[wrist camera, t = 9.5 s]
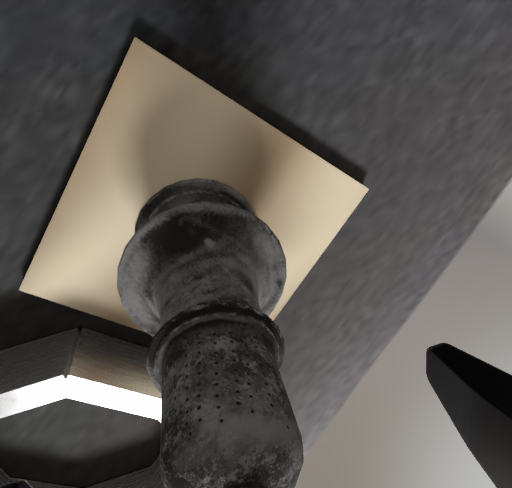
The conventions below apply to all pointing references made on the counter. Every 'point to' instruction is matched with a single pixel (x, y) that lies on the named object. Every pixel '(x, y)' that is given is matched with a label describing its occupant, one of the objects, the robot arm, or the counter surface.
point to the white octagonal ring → (81, 386)
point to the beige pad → (176, 169)
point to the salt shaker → (213, 337)
